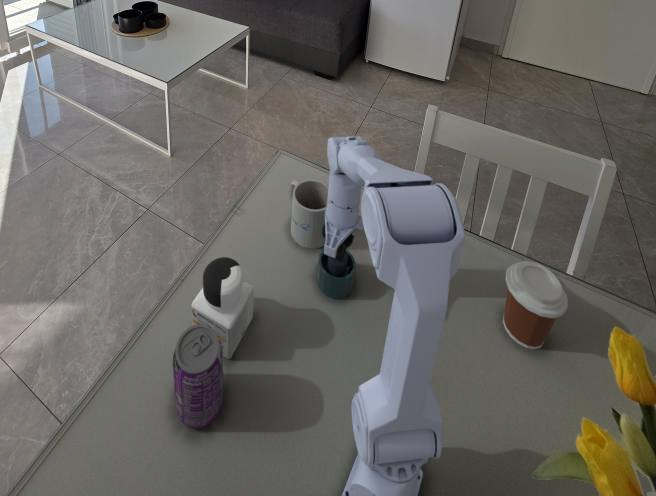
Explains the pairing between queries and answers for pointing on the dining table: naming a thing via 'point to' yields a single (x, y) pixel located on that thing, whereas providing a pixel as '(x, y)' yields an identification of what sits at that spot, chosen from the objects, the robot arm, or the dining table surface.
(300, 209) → the mug
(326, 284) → the dark teal cup
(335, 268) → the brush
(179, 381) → the beverage can
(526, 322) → the coffee cup
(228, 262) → the container
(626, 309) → the dining table surface
